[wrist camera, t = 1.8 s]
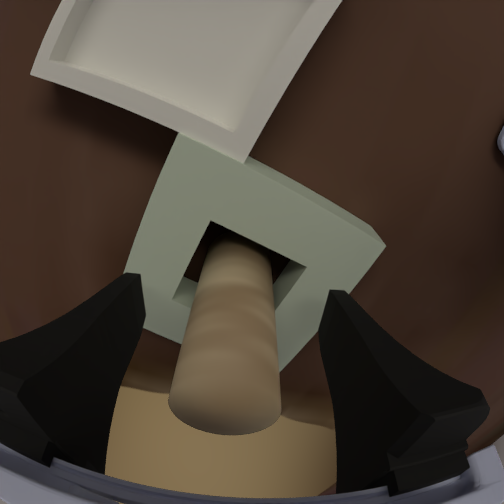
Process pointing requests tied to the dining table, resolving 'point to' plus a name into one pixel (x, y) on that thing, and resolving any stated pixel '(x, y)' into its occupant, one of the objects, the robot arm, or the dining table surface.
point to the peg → (230, 343)
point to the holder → (252, 227)
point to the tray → (185, 60)
